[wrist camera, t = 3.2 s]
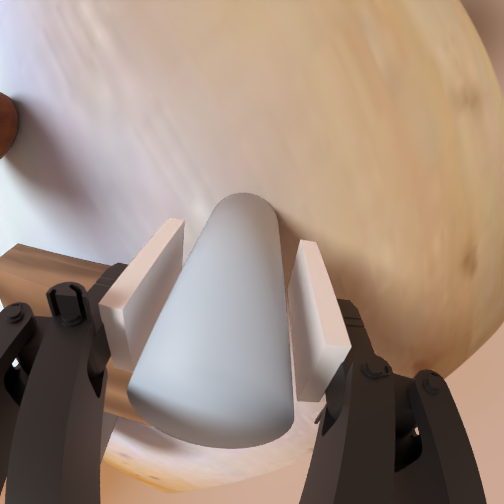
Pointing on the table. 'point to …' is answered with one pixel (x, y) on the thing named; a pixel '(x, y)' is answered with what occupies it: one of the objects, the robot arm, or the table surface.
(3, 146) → the wooden figurine
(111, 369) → the bore block
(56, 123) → the table surface
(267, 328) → the peg
